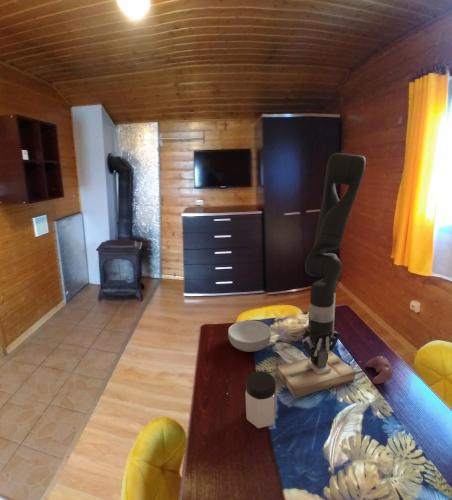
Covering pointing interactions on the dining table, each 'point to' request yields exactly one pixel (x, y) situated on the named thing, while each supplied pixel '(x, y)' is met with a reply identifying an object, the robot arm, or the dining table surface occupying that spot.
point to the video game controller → (380, 369)
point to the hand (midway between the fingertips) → (319, 362)
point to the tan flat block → (314, 375)
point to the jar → (260, 399)
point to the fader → (320, 362)
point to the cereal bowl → (249, 335)
